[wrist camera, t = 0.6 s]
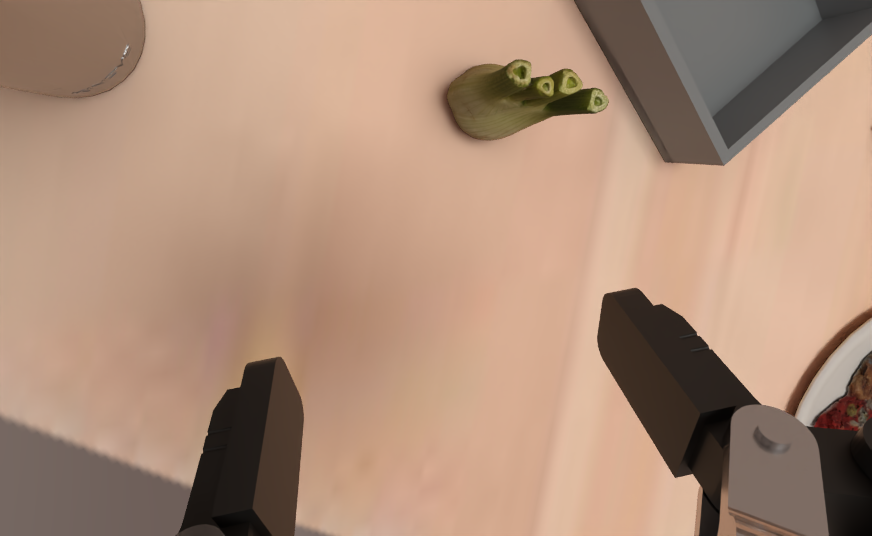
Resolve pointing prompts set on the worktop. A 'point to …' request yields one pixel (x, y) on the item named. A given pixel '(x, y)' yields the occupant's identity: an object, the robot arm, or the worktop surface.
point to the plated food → (842, 386)
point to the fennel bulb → (516, 98)
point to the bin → (721, 63)
